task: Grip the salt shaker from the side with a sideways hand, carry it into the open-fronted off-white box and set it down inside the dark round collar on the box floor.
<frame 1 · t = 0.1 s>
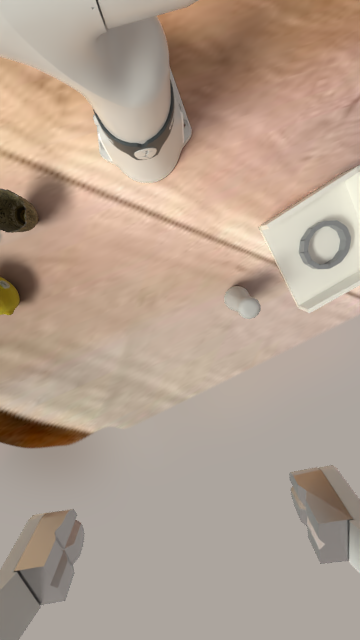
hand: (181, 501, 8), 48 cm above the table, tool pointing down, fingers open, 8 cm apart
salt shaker: (234, 296, 55), on the table
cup: (32, 217, 50), on the table
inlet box: (318, 245, 52), on the table
lemon: (8, 290, 54), on the table
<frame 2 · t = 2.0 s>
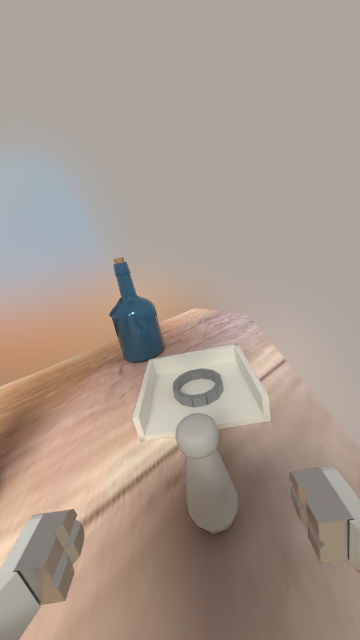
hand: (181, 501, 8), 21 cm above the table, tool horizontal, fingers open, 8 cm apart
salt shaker: (215, 513, 26), on the table
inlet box: (199, 394, 47), on the table
wine bottle: (144, 354, 72), on the table
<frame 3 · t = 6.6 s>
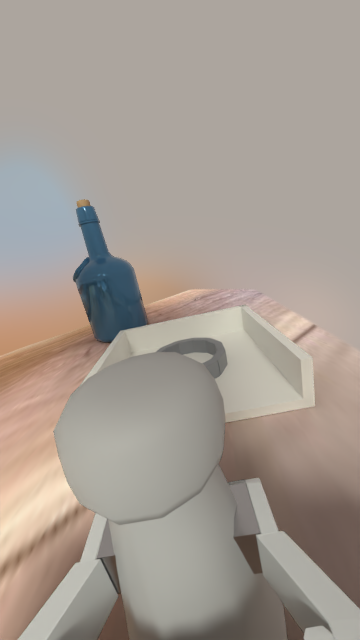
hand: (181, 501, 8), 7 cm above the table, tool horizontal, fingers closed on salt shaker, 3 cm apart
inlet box: (190, 373, 31), on the table
wine bottle: (122, 333, 56), on the table
when the fingers open (9 cm above the table, at t = 12.1 s): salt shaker stays where it is, resting on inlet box.
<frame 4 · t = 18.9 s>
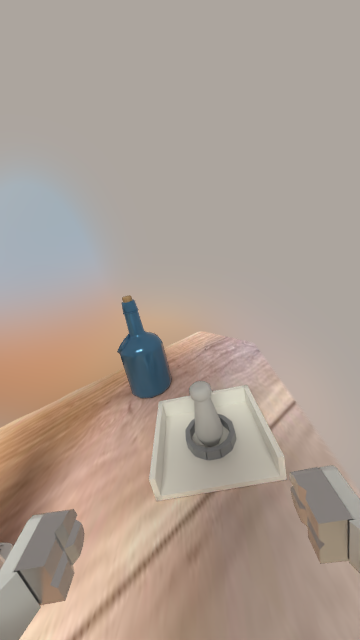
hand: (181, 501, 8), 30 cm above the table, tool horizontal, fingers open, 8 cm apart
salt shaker: (211, 439, 47), point 1 cm above the table, touching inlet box
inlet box: (211, 442, 47), on the table
wine bottle: (151, 387, 72), on the table
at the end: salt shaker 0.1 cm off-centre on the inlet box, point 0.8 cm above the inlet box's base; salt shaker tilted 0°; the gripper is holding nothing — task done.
